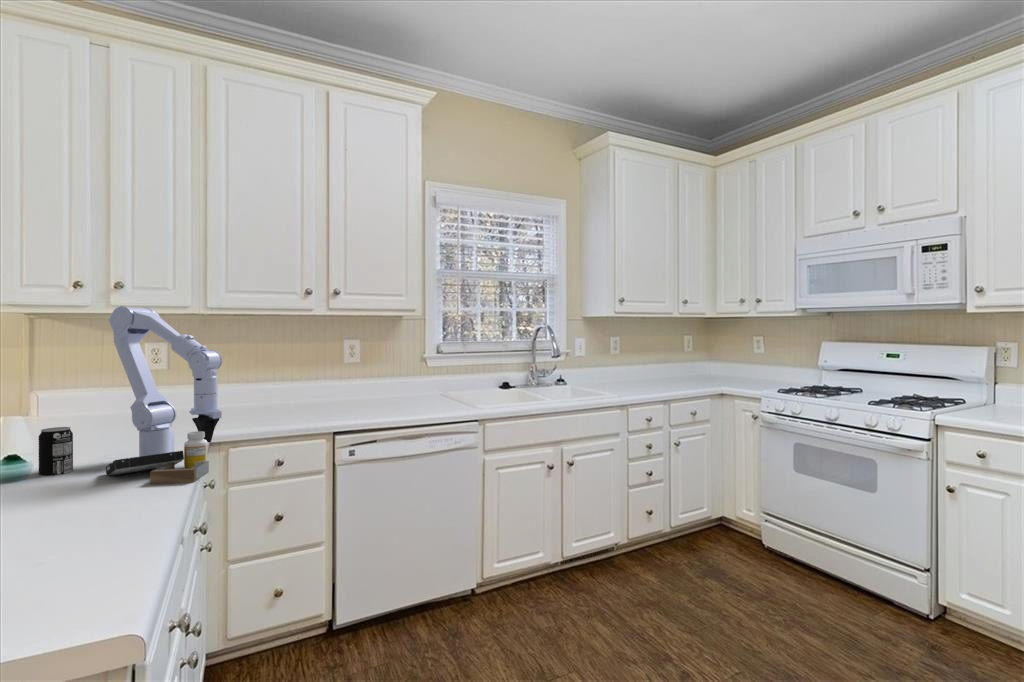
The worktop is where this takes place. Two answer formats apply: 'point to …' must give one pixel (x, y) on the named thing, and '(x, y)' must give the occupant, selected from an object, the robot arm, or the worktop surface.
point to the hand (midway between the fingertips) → (206, 442)
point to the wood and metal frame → (178, 473)
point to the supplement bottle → (195, 449)
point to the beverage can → (55, 451)
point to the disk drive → (143, 463)
